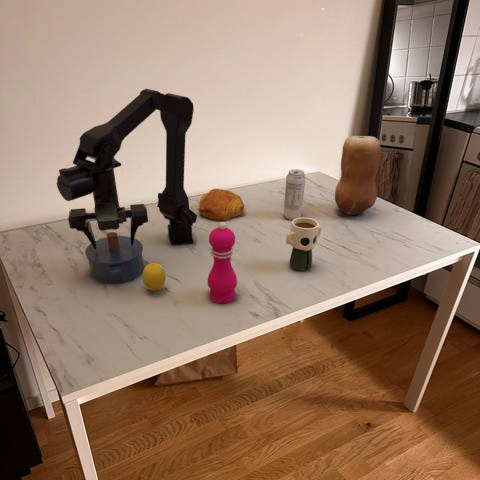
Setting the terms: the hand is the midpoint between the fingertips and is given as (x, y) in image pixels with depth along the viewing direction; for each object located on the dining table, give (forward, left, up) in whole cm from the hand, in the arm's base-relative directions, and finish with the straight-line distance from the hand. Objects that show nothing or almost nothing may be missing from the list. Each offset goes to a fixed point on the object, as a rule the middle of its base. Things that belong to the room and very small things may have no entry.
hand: (114, 246), depth 119 cm
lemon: (-9, +12, -7) cm, 17 cm away
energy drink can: (-57, -23, -7) cm, 62 cm away
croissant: (-34, -31, -7) cm, 47 cm away
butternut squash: (-78, -22, -7) cm, 81 cm away
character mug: (-49, +8, -7) cm, 50 cm away
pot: (0, 0, -7) cm, 7 cm away
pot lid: (0, 0, -1) cm, 1 cm away
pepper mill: (-25, +18, -7) cm, 32 cm away
